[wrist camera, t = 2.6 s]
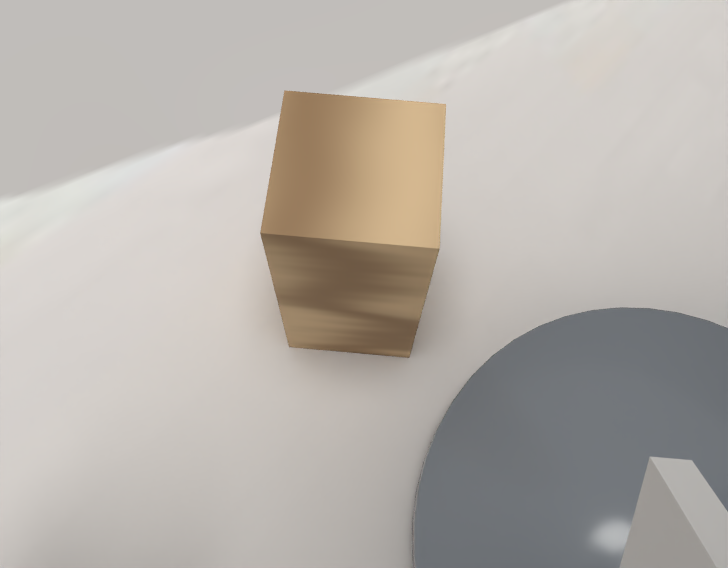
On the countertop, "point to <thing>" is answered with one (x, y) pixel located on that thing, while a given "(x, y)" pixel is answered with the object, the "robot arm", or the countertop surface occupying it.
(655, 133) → the countertop surface
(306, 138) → the oak block
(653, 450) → the dish
